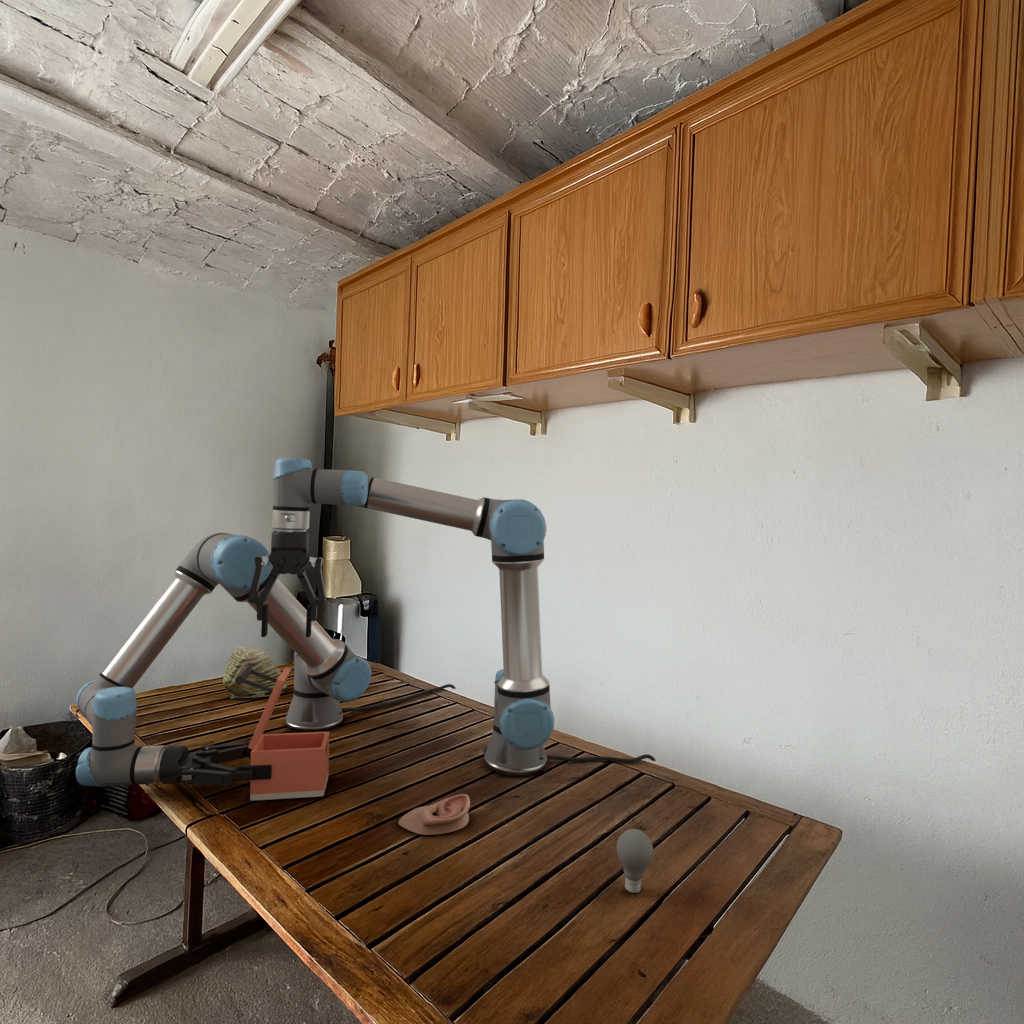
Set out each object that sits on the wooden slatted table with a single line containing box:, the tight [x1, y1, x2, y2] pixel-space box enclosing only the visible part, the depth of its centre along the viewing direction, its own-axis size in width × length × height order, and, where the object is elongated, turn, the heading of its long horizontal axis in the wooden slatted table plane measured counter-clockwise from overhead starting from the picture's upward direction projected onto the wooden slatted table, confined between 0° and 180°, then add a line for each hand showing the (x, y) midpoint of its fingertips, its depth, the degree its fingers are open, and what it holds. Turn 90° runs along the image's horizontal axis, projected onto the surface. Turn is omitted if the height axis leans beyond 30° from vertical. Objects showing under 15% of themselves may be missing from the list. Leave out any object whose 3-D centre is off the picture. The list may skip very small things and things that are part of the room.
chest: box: [249, 731, 330, 802], centre depth 137 cm, size 15×10×10 cm
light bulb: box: [615, 828, 654, 894], centre depth 106 cm, size 6×6×10 cm
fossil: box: [222, 646, 288, 699], centre depth 198 cm, size 9×18×15 cm, turn 132°
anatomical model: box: [397, 793, 471, 836], centre depth 125 cm, size 13×4×12 cm
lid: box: [235, 666, 292, 750], centre depth 135 cm, size 15×10×9 cm
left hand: (275, 761), depth 136 cm, fingers closed on chest, 10 cm apart
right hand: (286, 635), depth 136 cm, fingers open, 8 cm apart
